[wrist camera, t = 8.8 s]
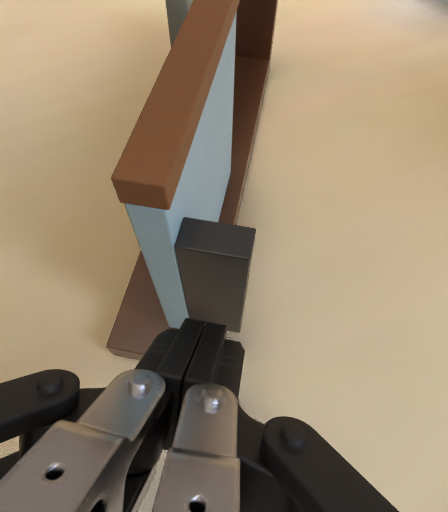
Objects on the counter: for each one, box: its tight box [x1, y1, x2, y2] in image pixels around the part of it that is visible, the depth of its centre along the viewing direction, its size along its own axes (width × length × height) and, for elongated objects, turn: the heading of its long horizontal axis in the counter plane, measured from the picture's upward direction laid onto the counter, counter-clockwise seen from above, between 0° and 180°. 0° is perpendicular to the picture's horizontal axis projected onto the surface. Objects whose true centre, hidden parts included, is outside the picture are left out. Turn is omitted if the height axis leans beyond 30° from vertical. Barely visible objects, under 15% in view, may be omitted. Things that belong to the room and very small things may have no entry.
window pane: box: [111, 0, 256, 332], centre depth 16 cm, size 4×11×11 cm, turn 169°
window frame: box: [106, 0, 278, 360], centre depth 20 cm, size 5×27×13 cm, turn 169°
